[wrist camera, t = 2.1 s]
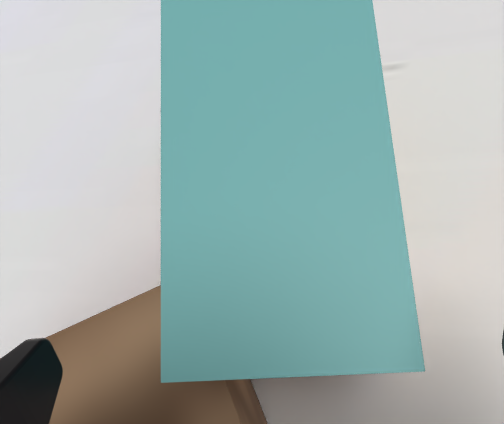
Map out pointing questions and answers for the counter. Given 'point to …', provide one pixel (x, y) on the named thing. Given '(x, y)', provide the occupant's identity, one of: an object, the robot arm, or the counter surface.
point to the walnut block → (137, 375)
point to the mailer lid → (279, 195)
